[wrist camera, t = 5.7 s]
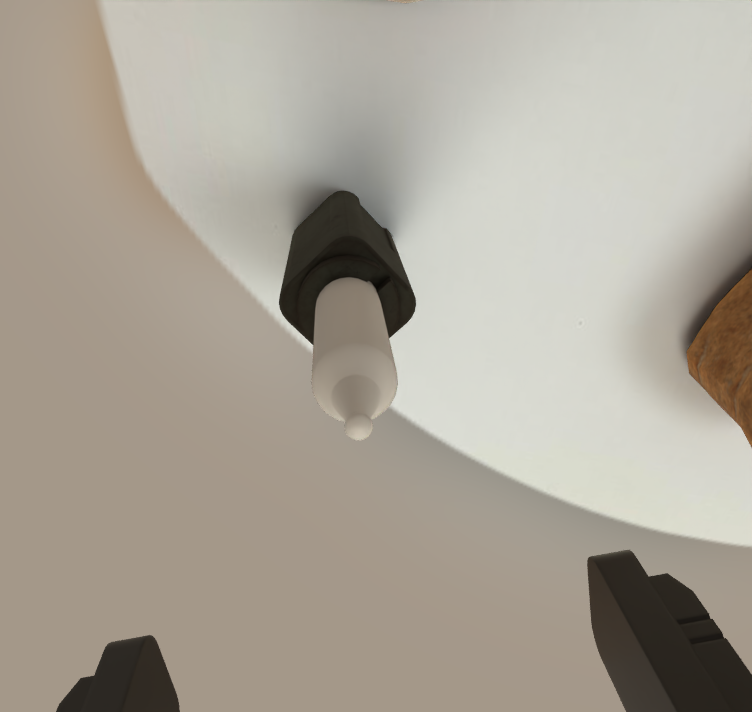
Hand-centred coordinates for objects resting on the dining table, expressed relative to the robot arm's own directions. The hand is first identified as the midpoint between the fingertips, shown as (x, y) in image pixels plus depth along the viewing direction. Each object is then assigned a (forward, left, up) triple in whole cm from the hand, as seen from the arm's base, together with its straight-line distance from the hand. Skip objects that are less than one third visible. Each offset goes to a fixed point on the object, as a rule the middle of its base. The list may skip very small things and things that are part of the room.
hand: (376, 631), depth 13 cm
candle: (0, 0, -33) cm, 33 cm away
